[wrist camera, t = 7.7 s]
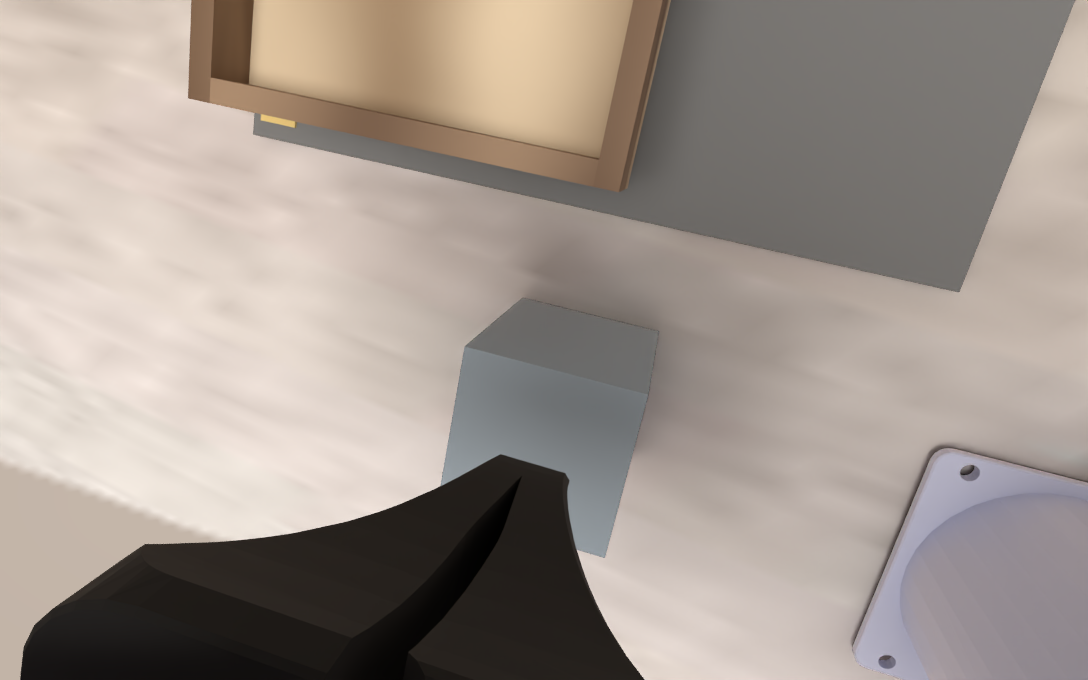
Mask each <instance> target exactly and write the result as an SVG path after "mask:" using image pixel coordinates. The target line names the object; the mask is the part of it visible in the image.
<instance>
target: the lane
mask: <svg viewBox="0 0 1088 680" xmlns="http://www.w3.org/2000/svg"><path fill="white" fill-rule="evenodd" d="M1074 2H1075V0H671V2H670V6H669V11H668V15H667V19H666V24H665V28H664V32H663V37H662V41H661V45H660V50H659V54H658V58H657V63H656V67H655V71H654V76H653V80H652V84H651V88H650V93H649V97H648V101H647V106H646V110H645V114H644V119H643V123H642V127H641V132H640V136H639V140H638V145H637V149H636V153H635V158H634V162H633V166H632V171H631V175H630V179H629V184H628V188H627V189H625V190H623V191H621V192H615V191H610V190H606V189H601V188H597V187H592V186H588V185H583V184H578V183H574V182H569V181H565V180H560V179H555V178H551V177H546V176H542V175H537V174H533V173H528V172H523V171H519V170H514V169H510V168H505V167H501V166H496V165H491V164H487V163H482V162H478V161H473V160H469V159H464V158H459V157H455V156H450V155H446V154H441V153H437V152H432V151H427V150H423V149H418V148H414V147H409V146H404V145H400V144H395V143H391V142H386V141H382V140H377V139H372V138H368V137H363V136H359V135H354V134H350V133H345V132H340V131H336V130H331V129H327V128H322V127H318V126H313V125H308V124H304V123H299V122H295V121H290V120H286V119H281V118H276V117H272V116H267V115H263V114H258V113H255V115H254V130H253V135H258V136H262V137H267V138H271V139H276V140H280V141H285V142H289V143H294V144H298V145H303V146H307V147H312V148H316V149H321V150H325V151H329V152H334V153H338V154H343V155H347V156H352V157H356V158H361V159H365V160H370V161H374V162H379V163H383V164H388V165H392V166H397V167H401V168H405V169H410V170H414V171H419V172H423V173H428V174H432V175H437V176H441V177H446V178H450V179H455V180H459V181H464V182H468V183H473V184H477V185H481V186H486V187H490V188H495V189H499V190H504V191H508V192H513V193H517V194H522V195H526V196H531V197H535V198H540V199H544V200H548V201H553V202H557V203H562V204H566V205H571V206H575V207H580V208H584V209H589V210H593V211H598V212H602V213H607V214H611V215H616V216H620V217H624V218H629V219H633V220H638V221H642V222H647V223H651V224H656V225H660V226H665V227H669V228H674V229H678V230H683V231H687V232H692V233H696V234H700V235H705V236H709V237H714V238H718V239H723V240H727V241H732V242H736V243H741V244H745V245H750V246H754V247H759V248H763V249H768V250H772V251H776V252H781V253H785V254H790V255H794V256H799V257H803V258H808V259H812V260H817V261H821V262H826V263H830V264H835V265H839V266H844V267H848V268H852V269H857V270H861V271H866V272H870V273H875V274H879V275H884V276H888V277H893V278H897V279H902V280H906V281H911V282H915V283H920V284H924V285H928V286H933V287H937V288H942V289H946V290H951V291H955V292H960V289H961V287H962V284H963V282H964V279H965V277H966V274H967V272H968V269H969V267H970V264H971V262H972V259H973V257H974V254H975V251H976V249H977V246H978V244H979V241H980V239H981V236H982V234H983V231H984V229H985V226H986V224H987V221H988V219H989V216H990V214H991V211H992V209H993V206H994V204H995V201H996V199H997V196H998V193H999V191H1000V188H1001V186H1002V183H1003V181H1004V178H1005V176H1006V173H1007V171H1008V168H1009V166H1010V163H1011V161H1012V158H1013V156H1014V153H1015V151H1016V148H1017V146H1018V143H1019V141H1020V138H1021V135H1022V133H1023V130H1024V128H1025V125H1026V123H1027V120H1028V118H1029V115H1030V113H1031V110H1032V108H1033V105H1034V103H1035V100H1036V98H1037V95H1038V93H1039V90H1040V88H1041V85H1042V83H1043V80H1044V78H1045V75H1046V72H1047V70H1048V67H1049V65H1050V62H1051V60H1052V57H1053V55H1054V52H1055V50H1056V47H1057V45H1058V42H1059V40H1060V37H1061V35H1062V32H1063V30H1064V27H1065V25H1066V22H1067V20H1068V17H1069V14H1070V12H1071V9H1072V7H1073V4H1074Z"/></svg>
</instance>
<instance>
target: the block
mask: <svg viewBox="0 0 1088 680" xmlns="http://www.w3.org/2000/svg"><path fill="white" fill-rule="evenodd" d="M658 334H659V331H655V330H651V329H647V328H643V327H639V326H635V325H631V324H627V323H623V322H619V321H615V320H611V319H607V318H603V317H599V316H595V315H591V314H587V313H583V312H579V311H575V310H571V309H567V308H563V307H559V306H555V305H551V304H547V303H543V302H539V301H535V300H530V299H526V298H522V299H521V300H519V301H518V302H517V303H516V304H515V305H513V306H512V307H511V308H510V309H509V310H508V311H506V312H505V313H504V314H503V315H502V316H500V317H499V318H498V319H497V320H496V321H494V322H493V323H492V324H491V325H490V326H489V327H487V328H486V329H485V330H484V331H483V332H481V333H480V334H479V335H478V336H477V337H475V338H474V339H473V340H472V341H471V342H469V343H468V344H467V345H466V346H465V348H464V354H463V359H462V365H461V371H460V377H459V383H458V388H457V394H456V400H455V406H454V411H453V417H452V423H451V429H450V434H449V440H448V446H447V452H446V458H445V463H444V469H443V475H442V481H441V486H442V485H444V484H446V483H448V482H450V481H452V480H454V479H456V478H458V477H459V476H461V475H463V474H465V473H467V472H468V471H470V470H472V469H474V468H476V467H477V466H479V465H481V464H483V463H485V462H486V461H488V460H490V459H492V458H494V457H496V456H498V455H500V454H502V455H506V456H509V457H512V458H516V459H519V460H523V461H526V462H529V463H533V464H536V465H540V466H543V467H546V468H550V469H553V470H557V471H560V472H563V473H566V475H567V477H568V479H569V485H568V490H567V499H568V511H569V517H570V523H571V528H572V533H573V538H574V542H575V546H576V549H577V550H580V551H583V552H587V553H590V554H593V555H597V556H600V557H603V558H605V555H606V551H607V548H608V544H609V540H610V537H611V533H612V529H613V525H614V522H615V518H616V514H617V510H618V507H619V503H620V499H621V495H622V492H623V488H624V484H625V480H626V477H627V473H628V469H629V465H630V462H631V458H632V454H633V451H634V447H635V443H636V439H637V436H638V432H639V428H640V424H641V421H642V417H643V413H644V409H645V406H646V402H647V398H648V394H649V388H650V382H651V376H652V370H653V364H654V358H655V352H656V346H657V340H658Z"/></svg>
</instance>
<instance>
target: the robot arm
mask: <svg viewBox="0 0 1088 680" xmlns="http://www.w3.org/2000/svg"><path fill="white" fill-rule="evenodd" d="M967 465H974V470H973V471H972V473H970V474H968V475H960V470H961V469H962V468H963V467H964V466H967ZM568 485H569V479H568V477H567V475H566V473H563V472H560V471H557V470H553V469H550V468H546V467H543V466H540V465H536V464H533V463H529V462H526V461H523V460H519V459H516V458H512V457H509V456H506V455H502V454H500V455H498V456H496V457H494V458H492V459H490V460H488V461H486V462H485V463H483V464H481V465H479V466H477V467H476V468H474V469H472V470H470V471H468V472H467V473H465V474H463V475H461V476H459V477H458V478H456V479H454V480H452V481H450V482H448V483H446V484H444V485H442V486H440V487H438V488H436V489H434V490H432V491H429V492H427V493H425V494H423V495H420V496H418V497H416V498H413V499H411V500H409V501H407V502H404V503H402V504H400V505H397V506H394V507H392V508H389V509H386V510H383V511H380V512H377V513H374V514H371V515H368V516H364V517H361V518H358V519H355V520H351V521H347V522H344V523H339V524H335V525H330V526H325V527H321V528H316V529H312V530H307V531H302V532H298V533H292V534H286V535H279V536H272V537H265V538H256V539H247V540H238V541H226V542H208V543H181V544H145V545H143V546H142V547H140V548H139V549H137V550H136V551H134V552H133V553H131V554H130V555H128V556H127V557H125V558H124V559H123V560H121V561H120V562H118V563H117V564H115V565H114V566H113V567H111V568H110V569H108V570H107V571H105V572H104V573H103V574H101V575H100V576H99V577H97V578H96V579H94V580H93V581H91V582H90V583H89V584H87V585H86V586H84V587H83V588H81V589H80V590H79V591H77V592H76V593H74V594H73V595H72V596H70V597H69V598H68V599H66V600H65V601H63V602H62V603H60V604H59V605H58V606H56V607H55V608H53V609H52V610H51V611H50V612H49V613H48V614H46V615H45V616H44V617H43V618H42V619H41V620H40V621H39V622H37V623H36V624H35V625H34V627H33V629H32V631H31V633H30V635H29V637H28V639H27V641H26V643H25V646H24V650H23V659H22V667H21V678H20V680H644V679H643V677H642V676H641V675H640V673H639V672H638V671H637V669H636V668H635V667H634V665H633V664H632V663H631V661H630V660H629V659H628V657H627V656H626V655H625V653H624V651H623V650H622V648H621V647H620V645H619V643H618V642H617V640H616V639H615V637H614V635H613V634H612V632H611V631H610V629H609V627H608V626H607V624H606V622H605V620H604V618H603V616H602V614H601V612H600V610H599V608H598V606H597V604H596V601H595V599H594V597H593V595H592V592H591V590H590V588H589V585H588V583H587V580H586V578H585V575H584V572H583V569H582V566H581V563H580V559H579V556H578V553H577V550H576V546H575V542H574V538H573V533H572V528H571V523H570V517H569V511H568V499H567V490H568ZM852 651H853V653H854V656H855V659H856V662H857V663H858V664H859V665H860V666H862V667H864V668H867V669H870V670H873V671H877V672H880V673H883V674H886V675H890V676H893V677H896V678H900V679H903V680H1088V483H1087V482H1083V481H1079V480H1075V479H1071V478H1067V477H1063V476H1059V475H1056V474H1052V473H1048V472H1044V471H1040V470H1036V469H1032V468H1028V467H1024V466H1020V465H1016V464H1012V463H1009V462H1005V461H1001V460H997V459H993V458H989V457H985V456H981V455H977V454H973V453H969V452H965V451H962V450H958V449H953V448H945V449H941V450H939V451H937V452H936V453H934V454H933V456H932V457H931V459H930V461H929V463H928V466H927V468H926V471H925V473H924V475H923V478H922V480H921V483H920V485H919V487H918V490H917V492H916V495H915V497H914V500H913V502H912V504H911V507H910V509H909V512H908V514H907V516H906V519H905V521H904V524H903V526H902V528H901V531H900V533H899V536H898V538H897V540H896V543H895V545H894V548H893V550H892V552H891V555H890V557H889V560H888V562H887V565H886V567H885V569H884V572H883V574H882V577H881V579H880V581H879V584H878V586H877V589H876V591H875V593H874V596H873V598H872V601H871V603H870V605H869V608H868V610H867V613H866V615H865V618H864V620H863V622H862V625H861V627H860V630H859V632H858V634H857V637H856V639H855V642H854V644H853V649H852ZM884 655H890V656H892V657H891V658H890V659H888V660H880V659H879V658H880V657H881V656H884Z"/></svg>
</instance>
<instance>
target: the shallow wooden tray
mask: <svg viewBox="0 0 1088 680" xmlns="http://www.w3.org/2000/svg"><path fill="white" fill-rule="evenodd" d="M670 2H671V0H192V3H191V32H190V60H189V88H188V98H189V99H194V100H199V101H203V102H208V103H212V104H217V105H221V106H226V107H231V108H235V109H240V110H244V111H249V112H253V113H258V114H263V115H267V116H272V117H276V118H281V119H286V120H290V121H295V122H299V123H304V124H308V125H313V126H318V127H322V128H327V129H331V130H336V131H340V132H345V133H350V134H354V135H359V136H363V137H368V138H372V139H377V140H382V141H386V142H391V143H395V144H400V145H404V146H409V147H414V148H418V149H423V150H427V151H432V152H437V153H441V154H446V155H450V156H455V157H459V158H464V159H469V160H473V161H478V162H482V163H487V164H491V165H496V166H501V167H505V168H510V169H514V170H519V171H523V172H528V173H533V174H537V175H542V176H546V177H551V178H555V179H560V180H565V181H569V182H574V183H578V184H583V185H588V186H592V187H597V188H601V189H606V190H610V191H615V192H621V191H623V190H625V189H627V188H628V184H629V179H630V175H631V171H632V166H633V162H634V158H635V153H636V149H637V145H638V140H639V136H640V132H641V127H642V123H643V119H644V114H645V110H646V106H647V101H648V97H649V93H650V88H651V84H652V80H653V76H654V71H655V67H656V63H657V58H658V54H659V50H660V45H661V41H662V37H663V32H664V28H665V24H666V19H667V15H668V11H669V6H670Z"/></svg>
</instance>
